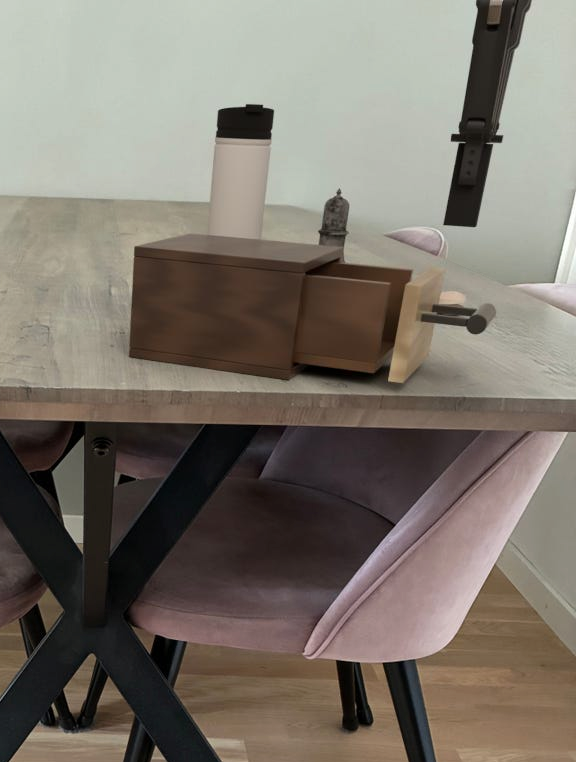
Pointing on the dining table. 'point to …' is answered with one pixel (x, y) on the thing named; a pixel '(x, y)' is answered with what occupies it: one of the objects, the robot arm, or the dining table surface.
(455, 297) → the beige seashell
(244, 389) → the dining table surface
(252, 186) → the travel mug
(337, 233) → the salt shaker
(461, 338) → the dining table surface
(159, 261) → the cabinet
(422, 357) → the drawer
